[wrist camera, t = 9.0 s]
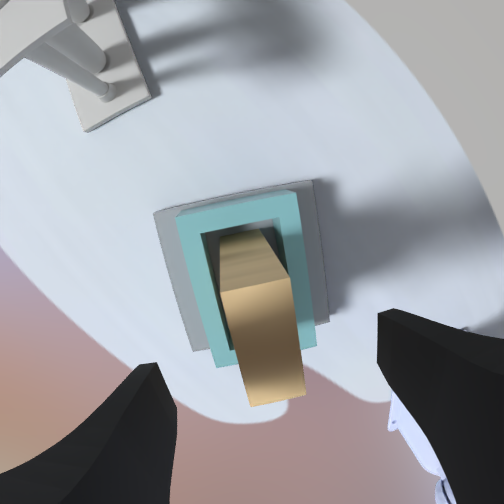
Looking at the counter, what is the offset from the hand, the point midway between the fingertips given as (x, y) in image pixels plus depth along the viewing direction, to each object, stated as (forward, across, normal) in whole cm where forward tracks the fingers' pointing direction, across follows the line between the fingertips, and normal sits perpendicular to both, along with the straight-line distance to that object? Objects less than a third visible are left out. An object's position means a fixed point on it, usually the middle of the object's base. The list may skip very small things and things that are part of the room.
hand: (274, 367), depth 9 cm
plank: (+9, 0, 0) cm, 9 cm away
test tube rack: (+10, +8, -23) cm, 26 cm away
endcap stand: (+10, 0, 0) cm, 10 cm away
